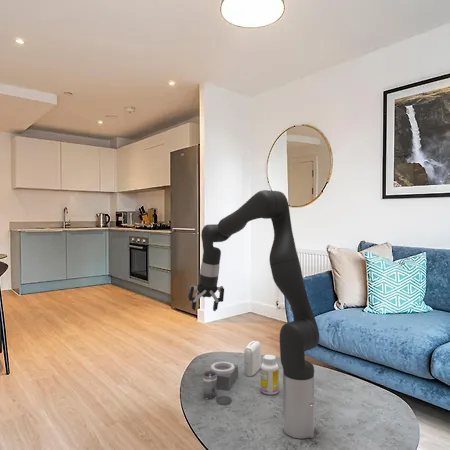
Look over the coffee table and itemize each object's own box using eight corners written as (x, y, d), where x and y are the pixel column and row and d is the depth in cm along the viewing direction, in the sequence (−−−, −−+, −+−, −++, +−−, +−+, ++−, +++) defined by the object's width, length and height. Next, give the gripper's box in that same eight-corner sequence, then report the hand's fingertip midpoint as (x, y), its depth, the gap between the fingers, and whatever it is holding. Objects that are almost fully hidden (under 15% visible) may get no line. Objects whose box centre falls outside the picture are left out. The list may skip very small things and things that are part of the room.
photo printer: (252, 377, 147) (252, 347, 147) (242, 375, 149) (242, 345, 149) (262, 368, 156) (262, 339, 156) (252, 366, 158) (252, 338, 158)
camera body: (238, 377, 148) (238, 361, 147) (229, 390, 136) (229, 374, 136) (216, 374, 150) (216, 359, 150) (206, 387, 139) (206, 371, 139)
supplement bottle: (278, 387, 139) (278, 353, 138) (279, 396, 132) (279, 360, 132) (260, 386, 139) (260, 353, 139) (260, 395, 133) (260, 360, 132)
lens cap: (233, 399, 130) (233, 397, 130) (229, 407, 125) (229, 404, 125) (218, 397, 132) (218, 395, 132) (213, 404, 127) (213, 402, 127)
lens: (218, 393, 134) (218, 371, 134) (214, 400, 129) (214, 377, 129) (205, 391, 135) (205, 369, 135) (200, 398, 130) (200, 375, 130)
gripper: (193, 275, 141) (188, 313, 144) (228, 277, 145) (222, 314, 148) (190, 268, 148) (185, 305, 151) (224, 270, 152) (218, 306, 155)
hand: (204, 310), depth 150 cm, fingers open, 8 cm apart
